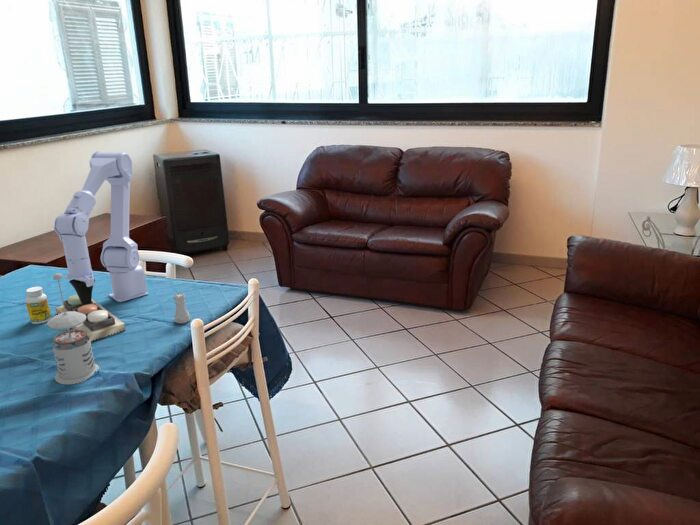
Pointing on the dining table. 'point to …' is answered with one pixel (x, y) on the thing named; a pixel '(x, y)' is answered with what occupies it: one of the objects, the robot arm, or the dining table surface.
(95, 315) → the button cream
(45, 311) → the supplement bottle
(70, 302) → the button sage
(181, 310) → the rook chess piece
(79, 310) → the button terracotta
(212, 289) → the dining table surface
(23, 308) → the dining table surface
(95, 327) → the button board
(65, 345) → the french press
